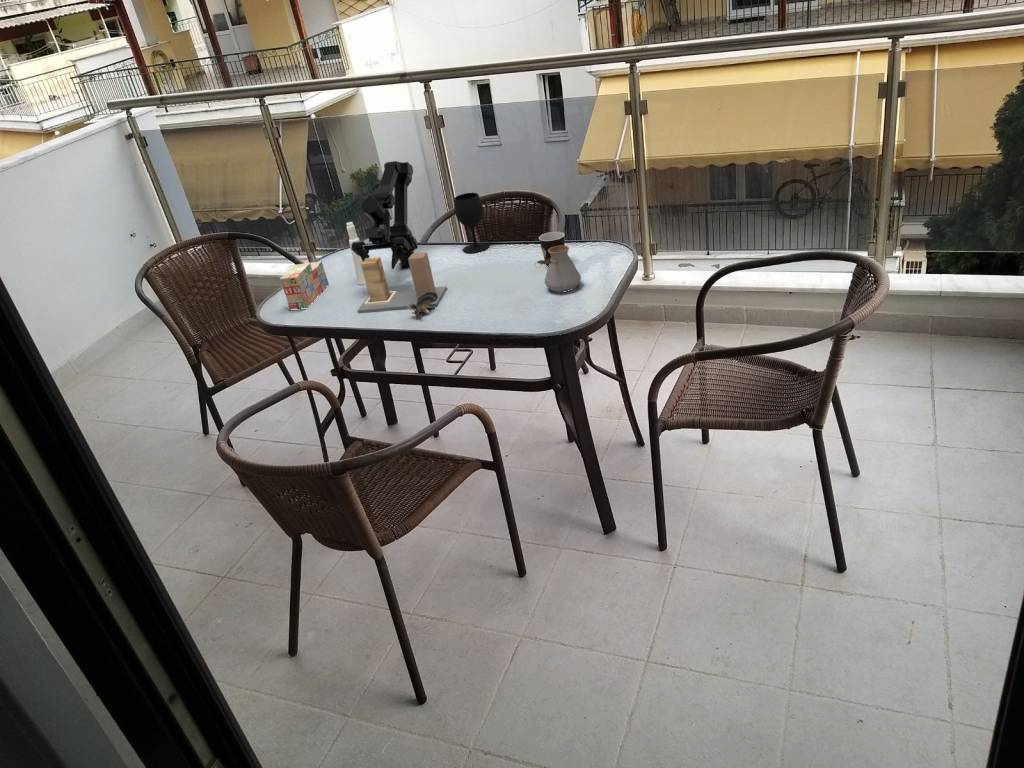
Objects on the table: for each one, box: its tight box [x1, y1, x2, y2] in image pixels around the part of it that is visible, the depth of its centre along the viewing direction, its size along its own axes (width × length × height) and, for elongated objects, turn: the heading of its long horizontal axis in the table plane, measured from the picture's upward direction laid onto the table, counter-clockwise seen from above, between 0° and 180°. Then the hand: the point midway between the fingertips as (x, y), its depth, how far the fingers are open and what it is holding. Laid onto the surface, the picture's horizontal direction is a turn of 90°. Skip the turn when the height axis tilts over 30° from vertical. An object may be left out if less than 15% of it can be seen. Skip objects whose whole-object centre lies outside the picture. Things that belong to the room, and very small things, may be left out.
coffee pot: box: [534, 245, 582, 293], centre depth 233 cm, size 21×12×15 cm, turn 154°
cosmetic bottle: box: [346, 221, 367, 286], centre depth 269 cm, size 6×6×22 cm
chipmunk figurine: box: [407, 292, 438, 320], centre depth 239 cm, size 8×7×9 cm
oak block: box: [361, 256, 390, 302], centre depth 250 cm, size 5×5×14 cm
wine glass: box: [453, 192, 491, 255], centre depth 281 cm, size 10×10×20 cm
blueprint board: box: [356, 251, 448, 314], centre depth 249 cm, size 14×27×15 cm, turn 81°
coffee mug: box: [538, 231, 566, 267], centre depth 258 cm, size 12×9×10 cm
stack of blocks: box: [279, 261, 330, 310], centre depth 266 cm, size 21×6×12 cm, turn 172°
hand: (379, 270), depth 253 cm, fingers open, 9 cm apart
